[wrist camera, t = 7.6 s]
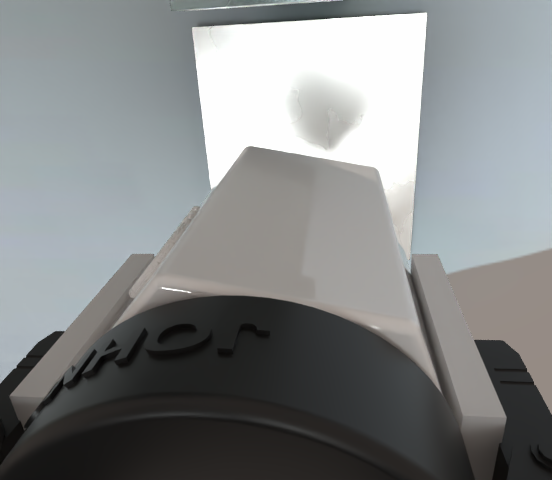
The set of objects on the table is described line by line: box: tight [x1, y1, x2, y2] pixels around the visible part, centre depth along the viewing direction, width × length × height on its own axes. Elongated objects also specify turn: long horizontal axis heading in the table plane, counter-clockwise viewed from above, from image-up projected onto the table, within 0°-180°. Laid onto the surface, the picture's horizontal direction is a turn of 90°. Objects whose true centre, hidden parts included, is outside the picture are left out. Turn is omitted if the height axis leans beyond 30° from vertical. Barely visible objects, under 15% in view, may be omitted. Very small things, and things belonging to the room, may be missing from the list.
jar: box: [0, 146, 475, 480], centre depth 13 cm, size 9×8×12 cm
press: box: [170, 0, 427, 260], centre depth 26 cm, size 28×17×17 cm, turn 3°
